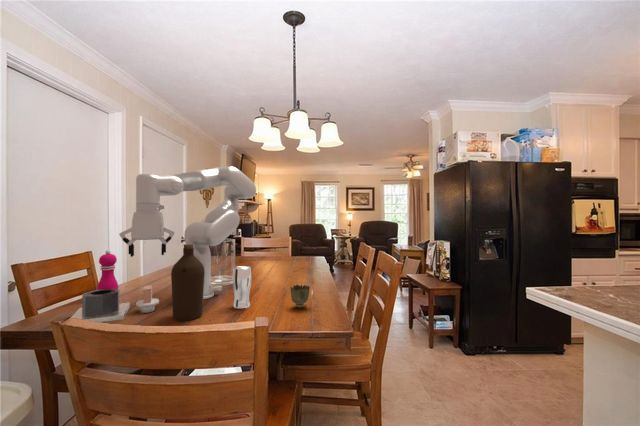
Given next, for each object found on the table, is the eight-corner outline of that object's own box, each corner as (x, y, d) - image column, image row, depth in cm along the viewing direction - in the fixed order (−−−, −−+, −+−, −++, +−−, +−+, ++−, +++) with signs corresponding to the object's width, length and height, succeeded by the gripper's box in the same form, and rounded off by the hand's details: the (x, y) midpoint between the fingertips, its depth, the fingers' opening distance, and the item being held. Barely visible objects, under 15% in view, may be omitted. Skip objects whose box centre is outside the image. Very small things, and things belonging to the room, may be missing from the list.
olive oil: (208, 317, 102) (209, 244, 102) (175, 324, 96) (175, 246, 96) (198, 309, 111) (199, 242, 110) (167, 315, 104) (168, 243, 104)
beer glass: (254, 305, 116) (255, 266, 116) (243, 310, 110) (243, 269, 110) (240, 302, 119) (240, 265, 119) (228, 307, 113) (228, 268, 112)
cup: (298, 303, 119) (298, 283, 119) (313, 306, 115) (313, 286, 115) (286, 307, 113) (286, 286, 113) (301, 311, 109) (301, 290, 109)
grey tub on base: (129, 306, 113) (129, 285, 113) (123, 319, 100) (123, 295, 100) (80, 311, 106) (80, 289, 106) (66, 326, 93) (66, 300, 93)
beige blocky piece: (159, 306, 113) (159, 284, 113) (158, 312, 107) (158, 288, 107) (137, 309, 110) (137, 286, 110) (134, 315, 103) (135, 291, 103)
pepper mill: (107, 301, 118) (107, 251, 118) (92, 300, 120) (92, 250, 120) (122, 296, 126) (122, 249, 126) (108, 295, 127) (108, 248, 127)
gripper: (174, 208, 115) (174, 252, 115) (121, 208, 108) (121, 255, 108) (174, 208, 108) (174, 255, 109) (117, 208, 101) (117, 258, 101)
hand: (147, 255), depth 108 cm, fingers open, 9 cm apart
